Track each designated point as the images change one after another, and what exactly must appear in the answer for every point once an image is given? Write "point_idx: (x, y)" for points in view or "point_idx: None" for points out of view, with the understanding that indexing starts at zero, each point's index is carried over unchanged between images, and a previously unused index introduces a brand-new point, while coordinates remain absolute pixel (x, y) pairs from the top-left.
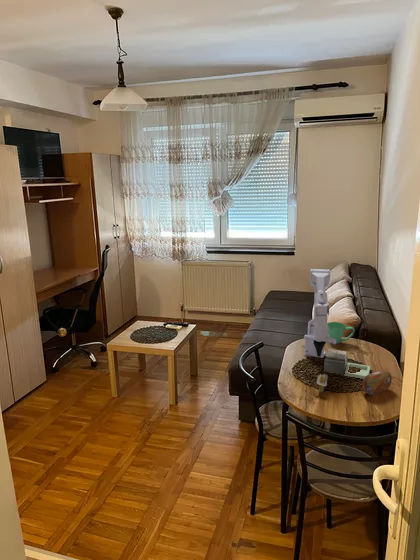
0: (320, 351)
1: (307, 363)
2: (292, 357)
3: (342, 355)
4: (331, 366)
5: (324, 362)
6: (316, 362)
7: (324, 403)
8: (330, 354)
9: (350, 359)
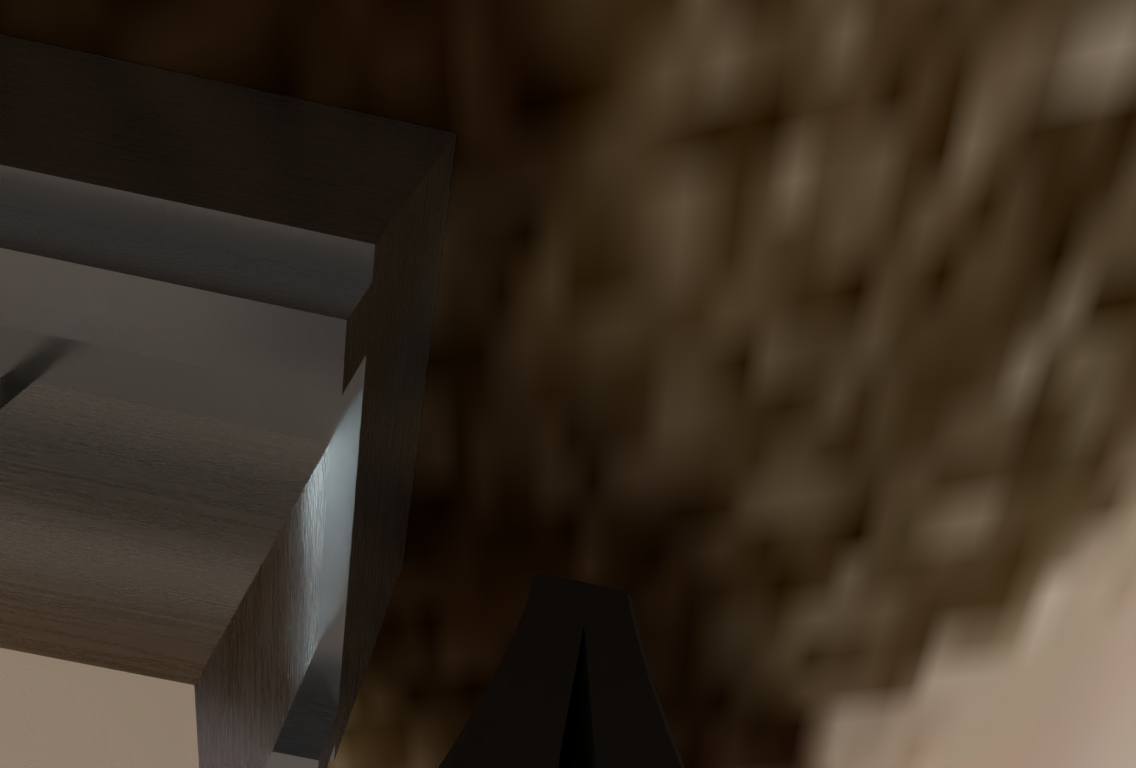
0: (503, 725)
1: (830, 531)
2: (1106, 731)
3: None
4: (163, 145)
5: (375, 233)
6: None
7: None
8: (79, 570)
9: None
